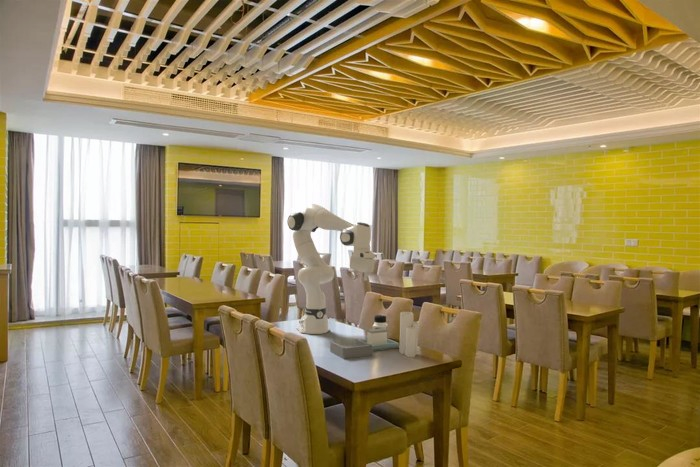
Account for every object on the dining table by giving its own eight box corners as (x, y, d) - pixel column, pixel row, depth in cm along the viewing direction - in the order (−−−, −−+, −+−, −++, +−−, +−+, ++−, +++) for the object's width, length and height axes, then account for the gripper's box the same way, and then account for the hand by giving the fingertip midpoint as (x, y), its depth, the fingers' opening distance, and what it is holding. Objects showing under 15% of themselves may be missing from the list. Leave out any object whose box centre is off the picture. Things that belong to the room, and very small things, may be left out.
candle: (396, 351, 247) (397, 312, 247) (408, 350, 250) (409, 311, 250) (409, 357, 237) (410, 316, 237) (421, 356, 240) (422, 315, 240)
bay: (330, 351, 246) (330, 341, 245) (357, 348, 253) (357, 338, 253) (343, 359, 233) (343, 348, 232) (371, 355, 240) (371, 345, 240)
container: (385, 340, 271) (386, 317, 271) (372, 339, 273) (372, 316, 272) (387, 337, 279) (388, 314, 278) (374, 336, 280) (374, 313, 280)
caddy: (367, 344, 257) (367, 329, 257) (381, 343, 262) (382, 328, 261) (371, 347, 253) (372, 331, 253) (386, 345, 257) (387, 330, 257)
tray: (355, 345, 259) (355, 340, 259) (384, 341, 268) (384, 337, 268) (368, 351, 247) (369, 346, 247) (398, 347, 255) (399, 343, 255)
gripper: (347, 251, 268) (346, 277, 268) (366, 255, 250) (365, 282, 250) (357, 251, 271) (356, 276, 271) (376, 255, 253) (375, 281, 253)
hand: (360, 279), depth 261 cm, fingers open, 8 cm apart
